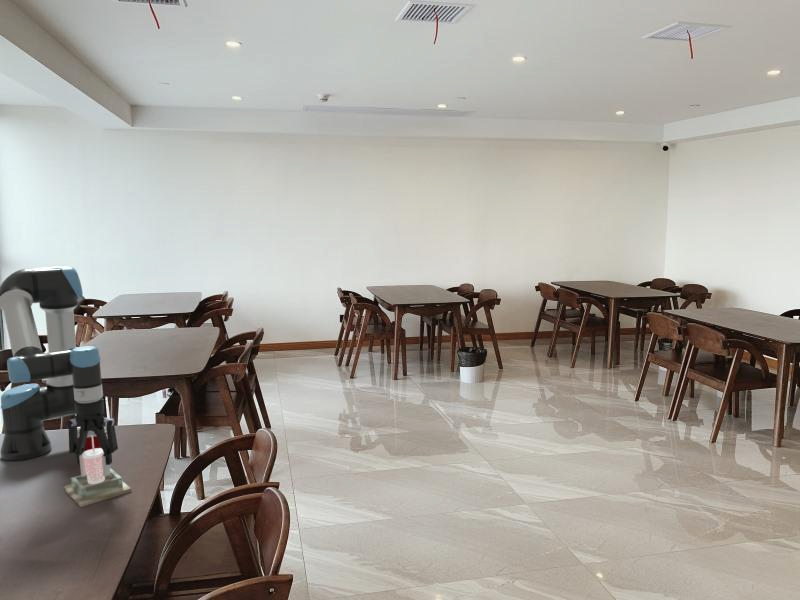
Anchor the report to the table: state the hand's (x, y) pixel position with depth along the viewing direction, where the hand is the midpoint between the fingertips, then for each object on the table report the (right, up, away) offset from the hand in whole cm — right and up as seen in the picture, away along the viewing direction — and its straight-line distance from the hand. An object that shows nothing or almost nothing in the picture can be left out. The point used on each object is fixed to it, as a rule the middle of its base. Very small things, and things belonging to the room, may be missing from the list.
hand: (96, 474), depth 183 cm
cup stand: (0, -5, +1) cm, 5 cm away
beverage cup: (0, -2, 0) cm, 2 cm away
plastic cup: (-11, -3, +19) cm, 22 cm away
